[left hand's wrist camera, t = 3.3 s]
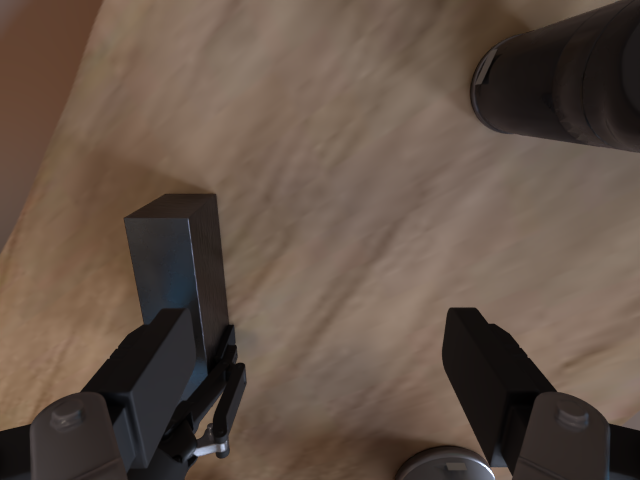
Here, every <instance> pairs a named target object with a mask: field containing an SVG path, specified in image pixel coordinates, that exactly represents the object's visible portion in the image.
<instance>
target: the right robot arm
mask: <svg viewBox="0 0 640 480" xmlns="http://www.w3.org/2000/svg"><path fill="white" fill-rule="evenodd" d="M235 343H236V342H235V332H234V325H228V327H227V329H226V331H225V334H224V336H223V339H222V341H221V343H220V346H219V348H218V351H217V353H216V355H215V365H216V366H215V368H214V369H213V370H212V371H211V372H210V373H209V375H208V376H207V377H206V378H205V379H204V380H203V382H202V383H201V384H200V385H199V386H198V387H197V389H196V390H195V391H194V392H193V393H192V394H191V396H190V397H189V398H188V399H187V400H186V401H185V400H182V401H181V402H180V403H179V405H178V406H177V407H176V408H175V411H174V413H173V415H172V417H171V419H170V421H169V423H168V425H167V427H166V430H165V432H164V434H163V436H162V438H161V440H160V442H159V444H158V446H157V448H156V451H155V453H154V455H153V457H152V459H151V461H150V463H149V465H148V467H147V469H129V470H128V472H127V478H128V480H184V479H185V475H186V473H187V471H188V470H189V469H190V467H191V466H192V465H193V464H194V463H195V462H196V460H197V458H198V456H202V455H206V454H210V453H214V452H216V456H217V457H218V458H225V457H226V456H228V454H229V451H230V449H229V433H230V430H231V427H232V424H233V421H234V418H235V416H236V413H237V410H238V407H239V404H240V401H241V398H242V395H243V392H244V390H245V387H246V383H247V382H246V370H245V364H244V363H237V364H236V361H237V358H238V356H237V347H236V345H235ZM222 392H223V394H222ZM221 394H222V396H221V399H220V401H219V403H218V406H217V408H216V411H215V413H214V417H213V423H210V424H208V426H207V429H206V430H205V433H204V435H203V436H202V437H201V438H200V439H196V437H195V435H194V434H195V433H196V431H197V429H198V426H199V423H200V421H201V420H202V419H203V417H204V416H205V415H206V413H207V412H208V411H209V410H210V408H211V407H212V406H213V404H214V403H215V402H216V400H217V399H218V398H219V396H220V395H221ZM395 480H495V478H494V475H493V473H492V471H491V469H490V467H489V465H488V463H487V462H486V461H485V460H484V459H483V458H482V457H481V456H480V455H478V454H476V453H475V452H473V451H470V450H467V449H464V448H459V447H438V448H433V449H429V450H426V451H423V452H421V453H419V454H417V455H415V456H413V457H412V458H410V459H409V460H408V461H406V462H405V463H404V464H403V465H402V467H401V468H400V469H399V471H398V473H397V475H396V478H395Z"/></svg>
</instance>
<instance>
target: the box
mask: <svg viewBox="0 0 640 480" xmlns="http://www.w3.org/2000/svg"><path fill="white" fill-rule="evenodd" d="M124 223H125V228H126V233H127V238H128V243H129V249H130V254H131V259H132V264H133V270H134V275H135V280H136V285H137V290H138V296H139V301H140V306H141V311H142V316H143V322H144V324H150V323H151V322H152V320H153V319H154V318H155V316H156V315H157V314H158V312H159V311H160V310H161V309H162V308H188V309H189V310H190V313H191V318H192V325H193V333H194V340H195V347H196V362H195V367H194V370H193V373H192V375H191V377H190V379H189V381H188V383H187V385H186V387H185V390H184V392H183V394H182V396H181V398H180V400H179V402H178V404H177V406H178V405H179V403H180V402H181V401H182V400H185V401H186V400H187V399H188V398H189V397H190V396H191V394H192V393H193V392H194V391H195V390H196V389H197V387H198V386H199V385H200V384H201V383H202V382H203V380H204V379H205V378H206V377H207V376H208V375H209V373H210V372H211V371H212V370H213V369H214V368H215V366H216V365H215V355H216V353H217V351H218V348H219V346H220V343H221V341H222V339H223V336H224V334H225V331H226V329H227V327H228V325H229V320H228V310H227V300H226V290H225V279H224V269H223V259H222V249H221V239H220V229H219V219H218V208H217V198H216V194H164V195H163V196H161V197H159V198H158V199H156V200H154V201H152V202H151V203H149V204H147V205H145V206H144V207H142V208H140V209H139V210H137V211H135V212H133V213H132V214H130V215H128V216H126V217H125V218H124ZM177 406H176V407H177Z"/></svg>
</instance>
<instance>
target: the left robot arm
mask: <svg viewBox="0 0 640 480" xmlns="http://www.w3.org/2000/svg"><path fill="white" fill-rule="evenodd" d="M471 102H472V106H473V109H474V112H475V114H476V115H477V117H478V119H479V120H480V121H481V122H482V123H483V124H484V125H485V126H486V127H488V128H490V129H491V130H493V131H496V132H500V133H505V134H518V135H524V136H531V137H537V138H544V139H551V140H557V141H564V142H571V143H577V144H584V145H591V146H597V147H605V148H612V149H619V150H625V151H630V152H637V153H640V0H620V1H617V2H615V3H612V4H609V5H606V6H603V7H600V8H597V9H595V10H592V11H589V12H586V13H583V14H580V15H577V16H574V17H571V18H568V19H566V20H563V21H560V22H557V23H554V24H551V25H548V26H545V27H542V28H539V29H537V30H533V31H530V32H527V33H525V34H519V35H515V36H512V37H510V38H507V39H505V40H503V41H501V42H499V43H498V44H496V45H495V46H494V47H493V48H491V49H490V50H489V51H488V52H487V53H486V55H485V56H484V57H483V58H482V60H481V61H480V63H479V65H478V66H477V68H476V71H475V73H474V76H473V79H472V84H471ZM442 360H443V366H444V369H445V372H446V374H447V376H448V378H449V380H450V382H451V385H452V387H453V389H454V391H455V393H456V395H457V397H458V399H459V402H460V404H461V406H462V408H463V410H464V412H465V414H466V416H467V419H468V421H469V423H470V425H471V427H472V429H473V431H474V434H475V436H476V438H477V440H478V442H479V444H480V446H481V448H482V451H483V453H484V455H485V457H486V459H487V461H488V463H489V466H490V467H508V469H509V471H510V472H511V474H512V476H513V478H512V480H640V431H639V430H634V429H630V428H626V427H622V426H617V425H613V424H609V423H608V422H607V420H606V419H605V417H604V416H603V415H602V414H601V413H600V412H599V411H598V410H597V409H595V408H594V407H593V406H591V405H590V404H588V403H587V402H585V401H583V400H581V399H579V398H577V397H574V396H572V395H569V394H565V393H561V392H557V391H556V389H555V388H554V387H553V386H552V385H551V383H550V382H549V381H548V380H547V379H546V377H545V376H544V375H543V374H542V372H541V371H540V370H539V369H538V368H537V366H536V365H535V364H534V363H533V362H532V360H531V359H530V358H528V357H527V354H526V353H525V352H524V351H523V349H522V348H519V345H518V343H517V342H516V341H515V340H514V339H513V337H512V336H511V335H510V334H509V333H508V332H506V331H505V330H503V329H502V328H500V327H499V326H497V325H496V324H488V322H487V321H486V320H485V319H484V317H483V316H482V315H481V313H480V312H479V311H478V310H477V309H476V308H449V310H448V312H447V318H446V325H445V333H444V340H443V347H442ZM195 362H196V347H195V340H194V333H193V325H192V318H191V313H190V310H189V309H188V308H162V309H161V310H160V311H159V312H158V314H157V315H156V316H155V318H154V319H153V320H152V322H151V323H150V324H143V325H142V326H140V327H139V328H137V329H136V330H134V331H133V332H131V333H130V334H128V335H127V336H126V338H125V339H124V340H123V341H122V342H121V344H120V345H119V346H118V349H116V350H115V351H114V352H113V353H112V354H111V356H110V359H107V360H106V362H105V363H104V364H103V365H102V366H101V368H100V369H99V370H98V371H97V372H96V374H95V375H94V376H93V377H92V378H91V380H90V381H89V382H88V383H87V384H86V386H85V387H84V388H83V389H82V390H81V392H79V393H75V394H71V395H68V396H66V397H63V398H61V399H59V400H57V401H55V402H53V403H52V404H50V405H49V406H47V407H46V408H45V409H43V410H42V411H41V412H40V413H39V414H38V415H37V416H36V417H35V419H34V420H33V422H32V424H29V425H25V426H21V427H17V428H12V429H8V430H4V431H0V480H128V478H127V472H128V470H129V469H147V467H148V465H149V463H150V461H151V459H152V457H153V455H154V453H155V451H156V448H157V446H158V444H159V442H160V440H161V438H162V436H163V434H164V432H165V430H166V427H167V425H168V423H169V421H170V419H171V417H172V415H173V413H174V411H175V408H176V406H177V404H178V402H179V400H180V398H181V396H182V394H183V392H184V390H185V387H186V385H187V383H188V381H189V379H190V377H191V375H192V373H193V370H194V367H195Z"/></svg>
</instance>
